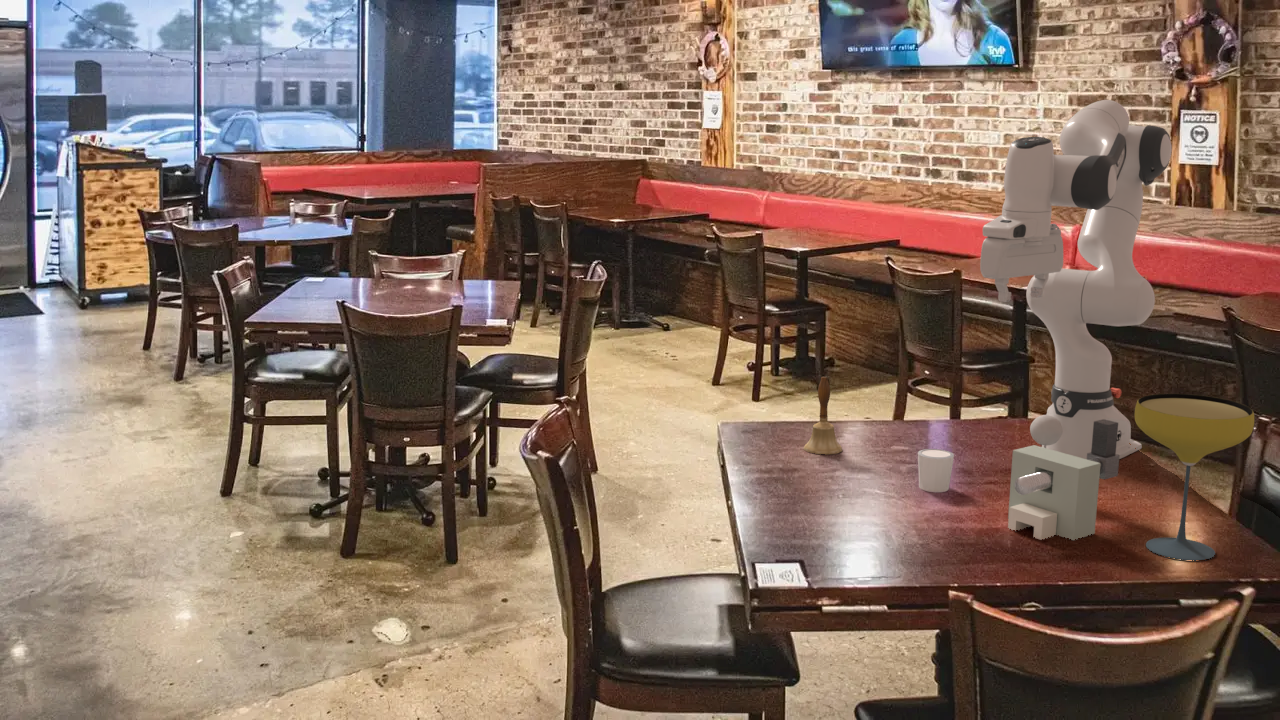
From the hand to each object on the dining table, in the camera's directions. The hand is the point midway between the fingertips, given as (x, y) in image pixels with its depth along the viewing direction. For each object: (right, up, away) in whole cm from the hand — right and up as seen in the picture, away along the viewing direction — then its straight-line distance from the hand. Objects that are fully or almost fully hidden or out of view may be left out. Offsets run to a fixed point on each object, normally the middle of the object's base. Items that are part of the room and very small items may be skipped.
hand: (1020, 299), depth 239 cm
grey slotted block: (+1, -41, -14) cm, 43 cm away
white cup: (-15, -37, +7) cm, 40 cm away
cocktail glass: (+19, -44, -25) cm, 54 cm away
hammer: (+4, -34, -14) cm, 37 cm away
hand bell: (-32, -31, +33) cm, 56 cm away
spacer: (-3, -42, -17) cm, 45 cm away
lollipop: (+6, -37, +6) cm, 38 cm away
